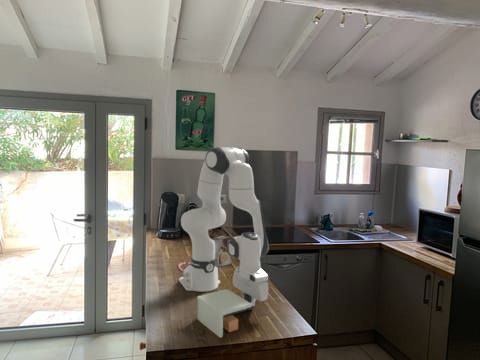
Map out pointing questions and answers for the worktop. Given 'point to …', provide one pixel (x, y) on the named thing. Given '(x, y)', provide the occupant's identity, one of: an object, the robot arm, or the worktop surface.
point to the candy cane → (182, 264)
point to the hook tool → (247, 298)
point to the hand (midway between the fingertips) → (248, 303)
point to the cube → (230, 323)
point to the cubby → (218, 308)
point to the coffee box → (222, 250)
